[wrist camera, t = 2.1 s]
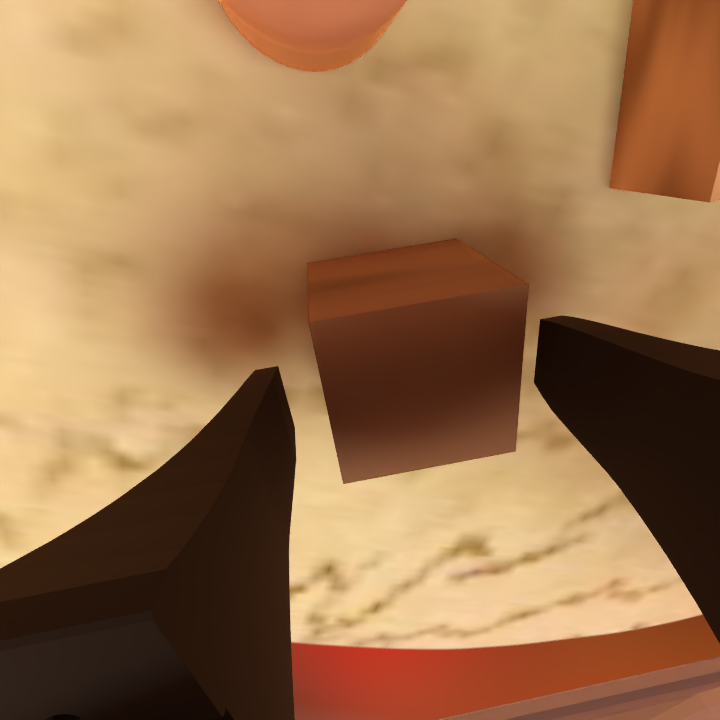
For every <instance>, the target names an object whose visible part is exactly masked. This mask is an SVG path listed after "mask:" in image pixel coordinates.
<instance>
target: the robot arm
mask: <svg viewBox="0 0 720 720" xmlns="http://www.w3.org/2000/svg"><path fill="white" fill-rule="evenodd" d="M534 383H535V385H536V387H537V388H538V390H539V391H540V393H541V395H542V396H543V398H544V399H545V401H546V402H547V404H548V405H549V407H550V408H551V410H552V411H553V412H554V413H555V415H556V416H557V417H558V418H559V419H560V420H561V421H562V423H563V424H564V425H565V426H566V427H567V428H568V429H569V431H570V432H571V433H572V434H573V435H574V436H575V437H576V438H577V439H578V441H579V442H580V443H581V444H582V445H583V446H584V447H585V448H586V449H587V451H588V452H589V453H590V454H591V455H592V456H593V457H594V458H595V459H596V461H597V462H598V463H599V464H600V465H601V466H602V467H603V468H604V469H605V471H606V472H607V473H608V474H609V475H610V477H611V478H612V479H613V480H614V481H615V483H616V484H617V485H618V486H619V488H620V489H621V490H622V492H623V493H624V495H625V496H626V497H627V499H628V500H629V502H630V503H631V504H632V506H633V507H634V508H635V510H636V511H637V513H638V514H639V515H640V517H641V518H642V520H643V521H644V522H645V524H646V525H647V527H648V528H649V530H650V531H651V533H652V534H653V536H654V537H655V539H656V540H657V542H658V543H659V545H660V546H661V548H662V549H663V551H664V552H665V554H666V555H667V557H668V558H669V560H670V561H671V563H672V565H673V566H674V568H675V569H676V571H677V573H678V574H679V576H680V577H681V579H682V581H683V582H684V584H685V585H686V587H687V589H688V590H689V592H690V593H691V595H692V597H693V598H694V600H695V601H696V603H697V605H698V607H699V608H700V610H701V612H702V613H703V615H704V617H705V619H706V620H707V622H708V624H709V626H710V627H711V629H712V631H713V633H714V634H715V636H716V638H717V640H718V641H719V643H720V351H719V350H714V349H708V348H703V347H698V346H693V345H689V344H684V343H679V342H675V341H670V340H666V339H662V338H657V337H653V336H649V335H645V334H641V333H637V332H633V331H629V330H625V329H621V328H618V327H614V326H610V325H606V324H602V323H598V322H594V321H589V320H585V319H580V318H575V317H569V316H557V317H551V318H546V319H540V327H539V337H538V347H537V357H536V367H535V377H534ZM295 466H296V445H295V427H294V423H293V419H292V416H291V412H290V408H289V405H288V401H287V397H286V394H285V390H284V386H283V383H282V379H281V375H280V372H279V368H278V366H276V367H271V368H265V369H260V370H255V371H254V372H253V373H252V374H251V375H250V376H249V378H248V379H247V380H246V381H245V382H244V384H243V385H242V386H241V387H240V388H239V390H238V391H237V392H236V393H235V394H234V395H233V397H232V398H231V399H230V400H229V401H228V402H227V404H226V405H225V406H224V407H223V408H222V409H221V410H220V412H219V413H218V414H217V415H216V416H215V417H214V418H213V419H212V420H211V421H210V422H209V423H208V424H207V425H206V426H205V427H204V428H203V429H202V430H201V431H200V432H199V433H198V434H197V435H196V436H195V437H194V438H193V439H192V440H191V441H190V442H189V443H188V444H187V445H186V446H185V447H184V448H182V449H181V450H180V451H179V452H178V453H177V454H176V455H174V456H173V457H172V458H171V459H170V460H169V461H167V462H166V463H165V464H164V465H163V466H161V467H160V468H159V469H158V470H156V471H155V472H154V473H152V474H151V475H150V476H148V477H147V478H146V479H144V480H143V481H142V482H140V483H139V484H137V485H136V486H135V487H133V488H132V489H131V490H129V491H128V492H127V493H125V494H124V495H123V496H121V497H120V498H118V499H117V500H115V501H114V502H113V503H111V504H109V505H108V506H106V507H105V508H103V509H102V510H100V511H99V512H97V513H96V514H94V515H93V516H91V517H90V518H88V519H86V520H85V521H83V522H81V523H80V524H78V525H77V526H75V527H73V528H72V529H70V530H68V531H67V532H65V533H63V534H62V535H60V536H58V537H57V538H55V539H53V540H52V541H50V542H48V543H46V544H45V545H43V546H41V547H39V548H37V549H35V550H34V551H32V552H30V553H28V554H26V555H24V556H23V557H21V558H19V559H17V560H15V561H14V562H12V563H10V564H8V565H6V566H4V567H3V568H1V569H0V720H295V719H294V702H293V681H292V659H291V658H292V657H291V631H290V596H289V535H290V523H291V512H292V501H293V490H294V478H295ZM438 720H720V657H716V658H712V659H707V660H703V661H698V662H694V663H690V664H686V665H681V666H676V667H672V668H667V669H663V670H658V671H654V672H649V673H645V674H641V675H636V676H632V677H627V678H622V679H618V680H613V681H609V682H604V683H600V684H595V685H591V686H586V687H582V688H577V689H573V690H569V691H564V692H559V693H555V694H550V695H546V696H541V697H537V698H532V699H528V700H523V701H519V702H514V703H510V704H506V705H501V706H496V707H492V708H488V709H483V710H479V711H475V712H469V713H465V714H460V715H456V716H451V717H447V718H442V719H438Z"/></svg>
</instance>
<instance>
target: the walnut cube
mask: <svg viewBox="0 0 720 720" xmlns="http://www.w3.org/2000/svg"><path fill="white" fill-rule="evenodd" d="M307 266H308V321H309V327H310V331H311V336H312V341H313V345H314V350H315V355H316V359H317V364H318V369H319V373H320V378H321V382H322V387H323V392H324V396H325V401H326V406H327V410H328V415H329V420H330V424H331V429H332V434H333V438H334V443H335V448H336V452H337V457H338V462H339V466H340V471H341V475H342V480H343V484H346V483H351V482H356V481H362V480H367V479H372V478H377V477H383V476H388V475H393V474H398V473H404V472H409V471H414V470H420V469H425V468H430V467H435V466H441V465H446V464H451V463H457V462H462V461H467V460H472V459H478V458H483V457H488V456H493V455H499V454H504V453H509V452H515V451H516V439H517V426H518V414H519V401H520V388H521V375H522V363H523V350H524V337H525V325H526V312H527V299H528V286H529V284H527V283H526V282H524V281H523V280H521V279H519V278H518V277H516V276H515V275H513V274H511V273H510V272H508V271H507V270H505V269H504V268H502V267H500V266H499V265H497V264H496V263H494V262H492V261H491V260H489V259H488V258H486V257H484V256H483V255H481V254H480V253H478V252H476V251H475V250H473V249H472V248H470V247H469V246H467V245H465V244H464V243H462V242H461V241H459V240H457V239H451V240H445V241H439V242H433V243H427V244H421V245H415V246H409V247H403V248H397V249H391V250H385V251H379V252H373V253H367V254H361V255H355V256H349V257H343V258H337V259H331V260H325V261H318V262H312V263H307Z"/></svg>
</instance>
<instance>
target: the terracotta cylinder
mask: <svg viewBox="0 0 720 720" xmlns="http://www.w3.org/2000/svg"><path fill="white" fill-rule="evenodd" d="M218 1H219V3H220V4H221V6H222V8H223V9H224V11H225V12H226V14H227V15H228V17H229V19H230V20H231V22H232V23H233V24H234V25H235V27H236V28H237V29H238V30H239V32H240V33H241V34H242V35H243V36H244V37H245V38H246V39H247V40H248V41H249V42H250V43H251V44H252V45H253V46H254V47H255V48H256V49H258V50H259V51H260V52H262V53H263V54H264V55H266V56H267V57H269V58H271V59H272V60H274V61H276V62H278V63H280V64H283V65H285V66H287V67H290V68H294V69H298V70H303V71H313V72H315V71H327V70H332V69H336V68H339V67H342V66H344V65H347V64H349V63H351V62H353V61H354V60H356V59H358V58H359V57H361V56H362V55H363V54H365V53H366V52H367V51H368V50H369V49H371V48H372V46H373V45H374V44H375V43H376V42H377V41H378V40H379V39H380V38H381V36H382V35H383V33H384V32H385V31H386V29H387V28H388V26H389V25H390V24H391V22H392V21H393V19H394V18H395V16H396V15H397V14H398V12H399V11H400V9H401V8H402V7H403V5H404V4H405V2H406V1H407V0H218Z"/></svg>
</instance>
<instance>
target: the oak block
mask: <svg viewBox="0 0 720 720" xmlns="http://www.w3.org/2000/svg"><path fill="white" fill-rule="evenodd" d="M610 188H614V189H621V190H627V191H634V192H641V193H648V194H655V195H662V196H669V197H676V198H683V199H690V200H697V201H704V202H714V201H719V200H720V0H633V8H632V16H631V24H630V32H629V40H628V48H627V56H626V63H625V71H624V79H623V87H622V95H621V103H620V111H619V119H618V126H617V134H616V142H615V150H614V158H613V166H612V174H611V182H610Z"/></svg>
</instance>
